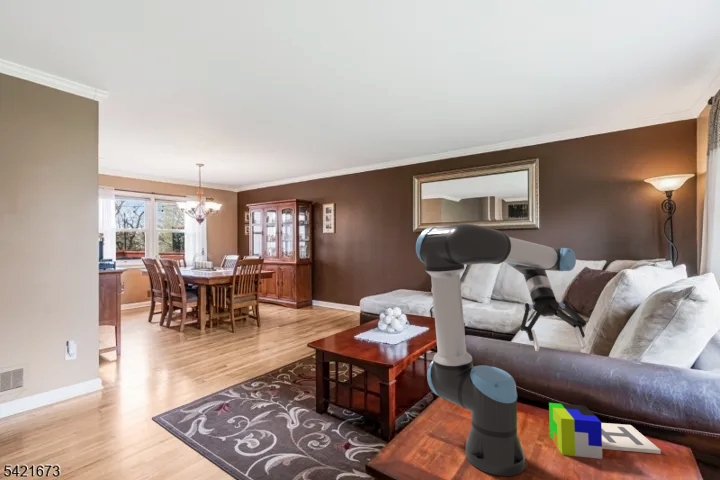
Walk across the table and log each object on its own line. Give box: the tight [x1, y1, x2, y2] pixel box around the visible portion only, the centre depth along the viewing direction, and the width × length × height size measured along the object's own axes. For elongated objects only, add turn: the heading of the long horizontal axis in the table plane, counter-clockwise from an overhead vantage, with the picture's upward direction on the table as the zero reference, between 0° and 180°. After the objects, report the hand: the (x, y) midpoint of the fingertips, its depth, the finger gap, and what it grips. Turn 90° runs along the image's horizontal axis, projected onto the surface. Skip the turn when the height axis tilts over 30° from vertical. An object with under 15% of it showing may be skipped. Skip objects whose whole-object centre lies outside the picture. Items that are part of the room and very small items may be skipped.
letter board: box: [601, 422, 662, 455], centre depth 104 cm, size 15×14×1 cm
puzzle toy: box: [548, 402, 603, 460], centre depth 100 cm, size 10×10×10 cm
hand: (560, 348), depth 111 cm, fingers open, 13 cm apart
